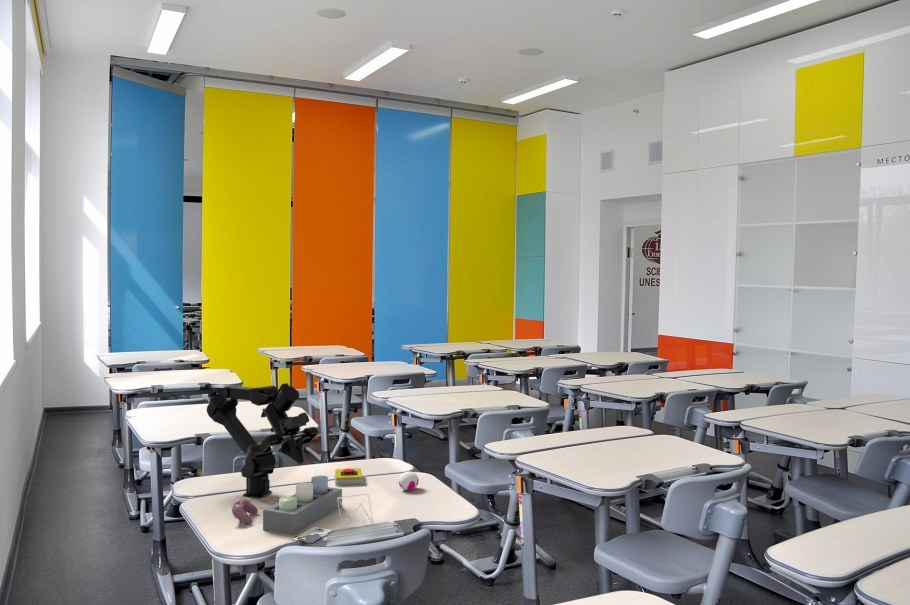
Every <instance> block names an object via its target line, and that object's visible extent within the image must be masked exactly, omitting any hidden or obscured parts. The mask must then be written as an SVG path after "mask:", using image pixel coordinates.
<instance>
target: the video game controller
mask: <svg viewBox="0 0 910 605" xmlns="http://www.w3.org/2000/svg"><path fill="white" fill-rule="evenodd" d="M231 513H232V515H233V516H234V518H235V519H236V520H238V521H239V522H241V523H243V524H244V525H251V524H252V523H253V518H252V517H251V515H257V514H258V513H259V509H258V507H257V506H256V505H254V504H253V503H251V501H249V500H248V499H247V498H245V497H240V498H237V499H236V500H234V502H233V505H232V507H231ZM248 513H249V514H250V515H249V514H248Z"/></svg>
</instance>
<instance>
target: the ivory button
mask: <svg viewBox="0 0 910 605" xmlns="http://www.w3.org/2000/svg"><path fill="white" fill-rule="evenodd" d="M295 494H296V498H297V502H303V503H309V502H311V501H313V484H312V483H311V482H299V483H297V484H296V485H295Z"/></svg>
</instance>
